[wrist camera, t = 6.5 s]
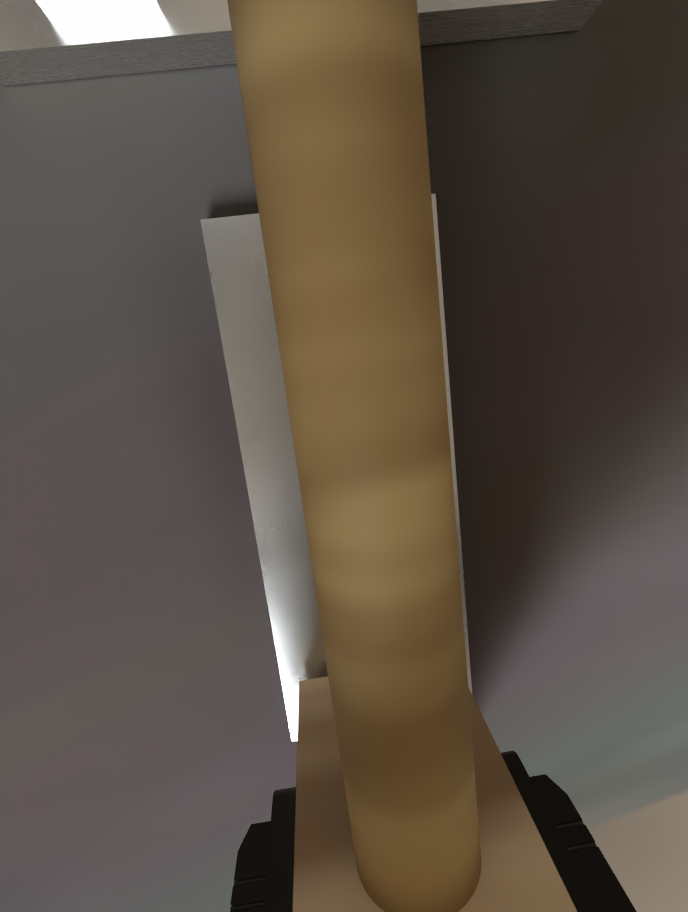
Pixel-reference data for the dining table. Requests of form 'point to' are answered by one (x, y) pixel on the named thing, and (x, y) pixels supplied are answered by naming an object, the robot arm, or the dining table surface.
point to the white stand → (250, 253)
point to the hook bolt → (374, 476)
